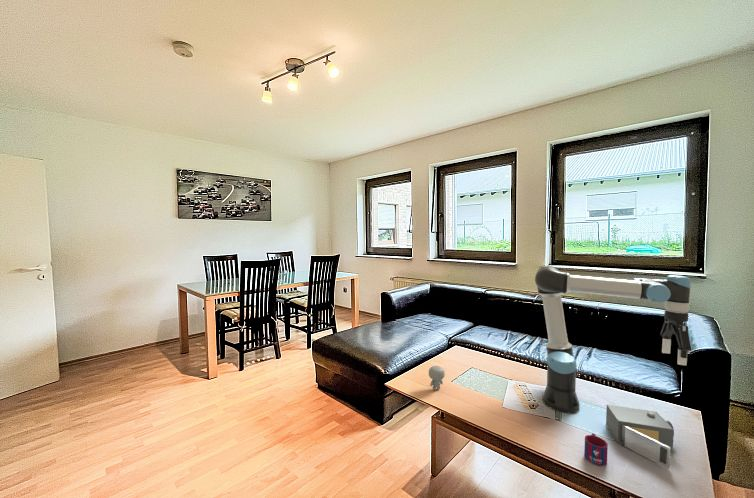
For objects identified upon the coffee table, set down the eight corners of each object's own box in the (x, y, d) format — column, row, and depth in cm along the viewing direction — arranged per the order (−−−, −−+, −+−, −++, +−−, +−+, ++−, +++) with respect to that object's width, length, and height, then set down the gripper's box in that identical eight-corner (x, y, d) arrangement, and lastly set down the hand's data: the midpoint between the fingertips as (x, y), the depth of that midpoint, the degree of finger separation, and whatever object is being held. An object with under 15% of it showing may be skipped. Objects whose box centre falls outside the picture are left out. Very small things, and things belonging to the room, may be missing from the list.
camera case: (617, 443, 119) (618, 418, 119) (606, 424, 131) (606, 402, 130) (681, 455, 113) (682, 428, 113) (663, 434, 125) (664, 410, 124)
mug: (584, 460, 111) (584, 442, 110) (584, 445, 119) (585, 428, 118) (607, 469, 107) (608, 450, 106) (606, 452, 115) (606, 434, 115)
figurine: (439, 385, 166) (439, 363, 166) (446, 391, 159) (447, 369, 158) (426, 387, 164) (426, 365, 163) (433, 394, 156) (433, 371, 156)
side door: (620, 444, 118) (621, 425, 118) (622, 443, 119) (623, 424, 118) (667, 469, 105) (668, 448, 105) (669, 468, 106) (670, 447, 106)
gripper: (705, 319, 122) (701, 371, 123) (672, 305, 145) (670, 349, 146) (680, 317, 125) (677, 368, 126) (652, 304, 148) (650, 347, 149)
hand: (673, 358), depth 136 cm, fingers open, 13 cm apart
